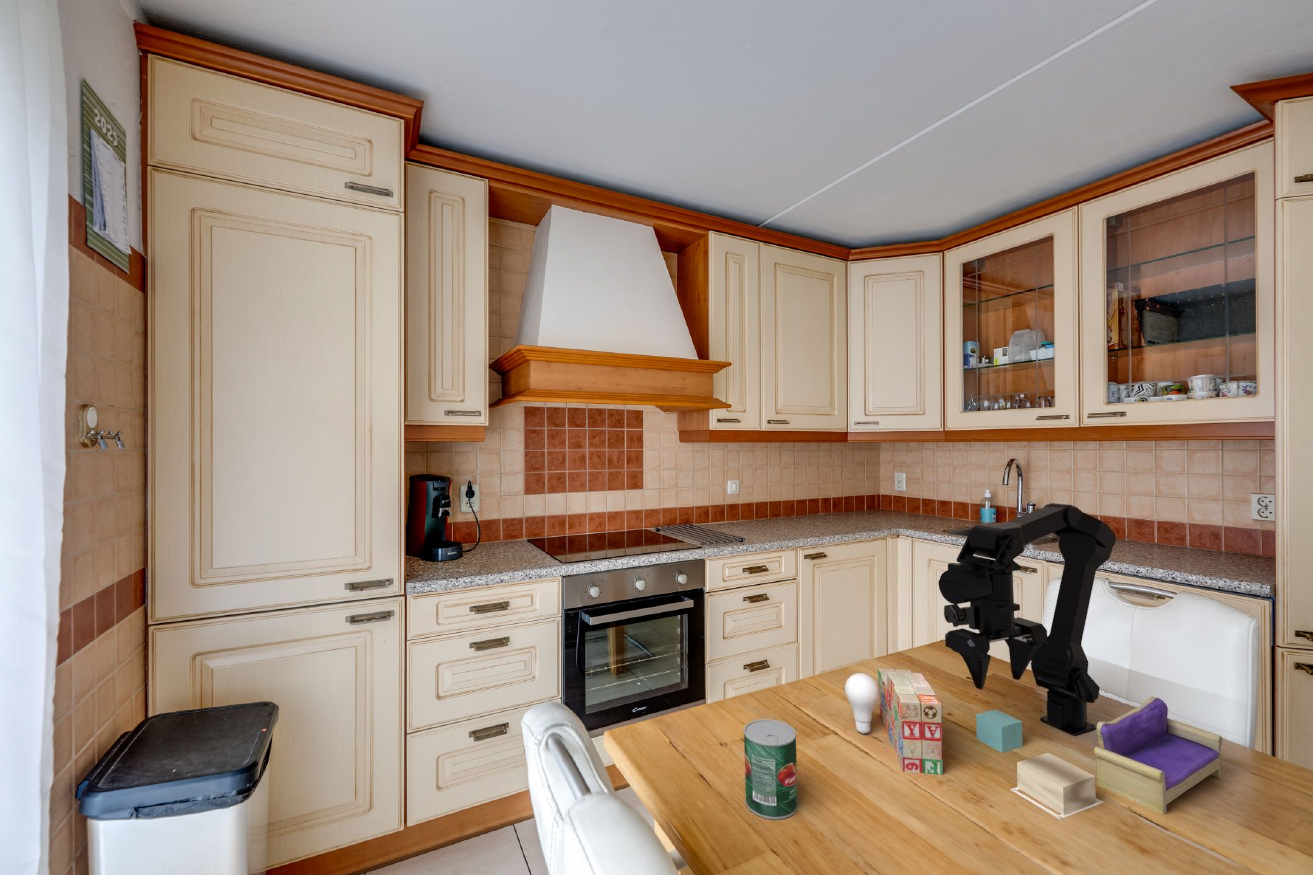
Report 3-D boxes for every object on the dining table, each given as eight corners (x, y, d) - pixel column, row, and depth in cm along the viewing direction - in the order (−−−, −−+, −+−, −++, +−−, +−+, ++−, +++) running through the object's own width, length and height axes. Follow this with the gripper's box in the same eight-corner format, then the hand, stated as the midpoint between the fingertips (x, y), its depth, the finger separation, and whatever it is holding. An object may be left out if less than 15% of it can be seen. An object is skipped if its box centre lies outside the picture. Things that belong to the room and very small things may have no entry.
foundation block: (1048, 777, 91) (1047, 752, 91) (1095, 803, 84) (1095, 775, 84) (1017, 788, 88) (1016, 762, 88) (1063, 815, 82) (1063, 787, 82)
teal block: (996, 736, 105) (995, 709, 105) (1022, 749, 100) (1021, 721, 100) (976, 742, 103) (976, 714, 103) (1002, 756, 98) (1001, 727, 98)
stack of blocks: (879, 714, 114) (877, 652, 115) (912, 716, 113) (910, 654, 113) (902, 775, 93) (900, 700, 94) (944, 779, 92) (941, 703, 92)
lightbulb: (845, 738, 105) (843, 678, 105) (847, 722, 111) (845, 666, 111) (880, 743, 103) (878, 683, 103) (880, 727, 109) (879, 670, 109)
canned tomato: (742, 787, 91) (740, 718, 91) (792, 787, 91) (790, 718, 91) (749, 820, 83) (747, 744, 83) (803, 820, 83) (801, 744, 83)
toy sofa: (1163, 821, 81) (1160, 749, 81) (1093, 789, 89) (1091, 723, 89) (1225, 778, 91) (1223, 714, 91) (1158, 752, 98) (1156, 693, 99)
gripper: (991, 580, 113) (994, 659, 113) (919, 592, 106) (922, 676, 106) (1047, 594, 102) (1050, 681, 102) (971, 607, 96) (974, 701, 96)
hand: (997, 683), depth 102 cm, fingers open, 9 cm apart
